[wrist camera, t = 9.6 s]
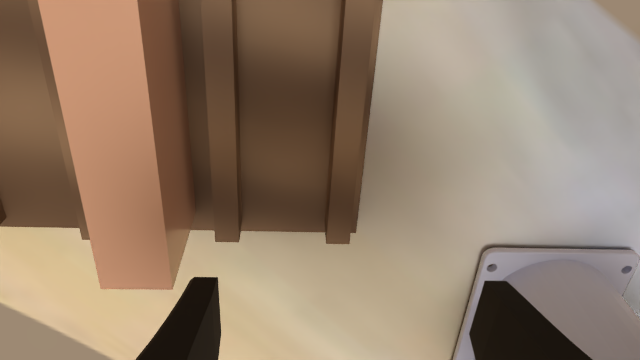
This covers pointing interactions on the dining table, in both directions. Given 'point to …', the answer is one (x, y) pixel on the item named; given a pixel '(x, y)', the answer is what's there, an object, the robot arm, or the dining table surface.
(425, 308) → the dining table surface
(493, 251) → the robot arm
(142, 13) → the clay block
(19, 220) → the rack
